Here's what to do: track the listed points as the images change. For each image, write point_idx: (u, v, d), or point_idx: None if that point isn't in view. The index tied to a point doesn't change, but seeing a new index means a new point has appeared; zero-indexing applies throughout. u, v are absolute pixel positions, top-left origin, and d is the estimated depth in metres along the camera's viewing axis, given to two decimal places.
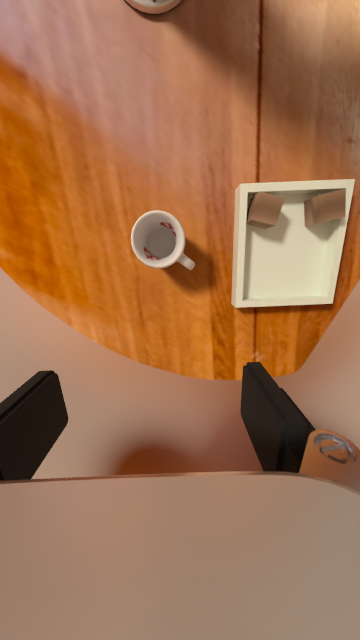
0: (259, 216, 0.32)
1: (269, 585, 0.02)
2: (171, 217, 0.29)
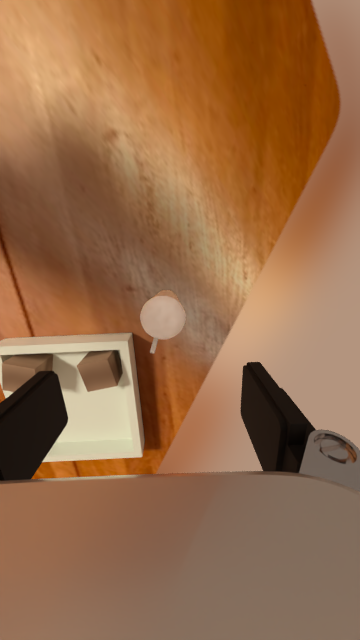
0: (10, 387, 0.27)
1: (269, 585, 0.02)
2: None
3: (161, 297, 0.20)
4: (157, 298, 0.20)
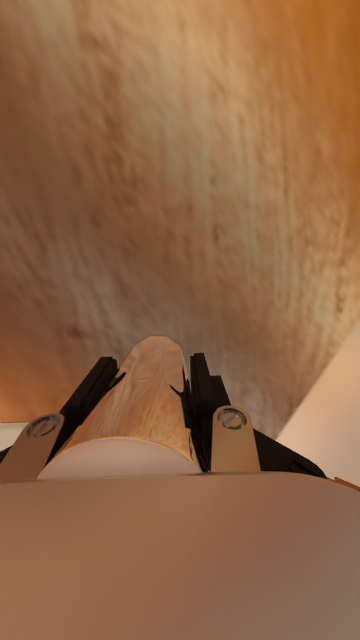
0: None
1: (269, 585, 0.02)
2: None
3: (107, 461, 0.04)
4: (89, 465, 0.04)
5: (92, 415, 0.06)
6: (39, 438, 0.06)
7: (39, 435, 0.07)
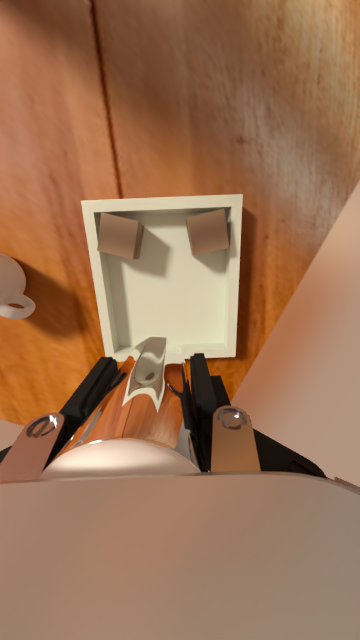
0: (107, 246, 0.23)
1: (269, 585, 0.02)
2: None
3: (108, 462, 0.04)
4: (89, 467, 0.04)
5: (92, 416, 0.06)
6: (39, 438, 0.06)
7: (39, 435, 0.07)
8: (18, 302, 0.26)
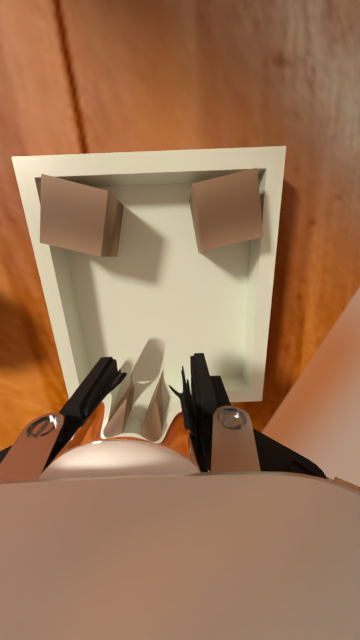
0: (56, 235, 0.13)
1: (269, 585, 0.02)
2: None
3: (108, 463, 0.04)
4: (89, 468, 0.04)
5: (92, 417, 0.06)
6: (39, 438, 0.06)
7: (39, 435, 0.07)
8: None
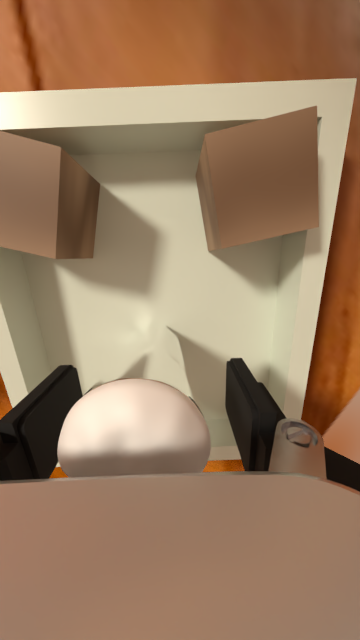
0: None
1: (269, 585, 0.02)
2: None
3: (127, 391, 0.06)
4: (113, 394, 0.06)
5: (109, 371, 0.07)
6: None
7: None
8: None
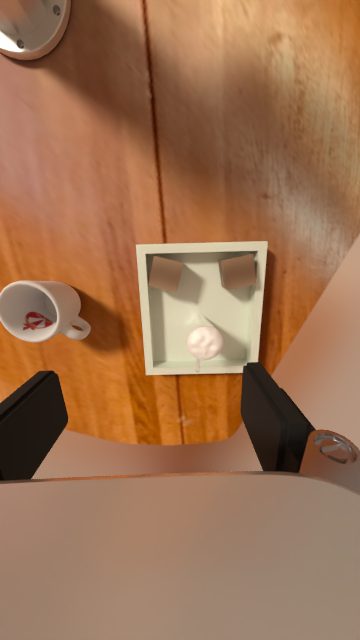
0: (156, 282, 0.28)
1: (269, 585, 0.02)
2: (40, 289, 0.25)
3: (205, 327, 0.25)
4: (202, 328, 0.25)
5: (196, 326, 0.27)
6: None
7: None
8: (77, 324, 0.31)
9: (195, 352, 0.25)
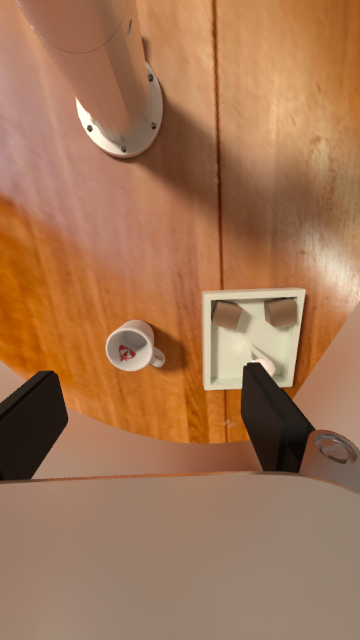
0: (220, 322, 0.36)
1: (269, 585, 0.02)
2: (140, 333, 0.33)
3: (263, 359, 0.34)
4: (260, 360, 0.34)
5: (253, 356, 0.35)
6: None
7: None
8: (153, 353, 0.40)
9: None
